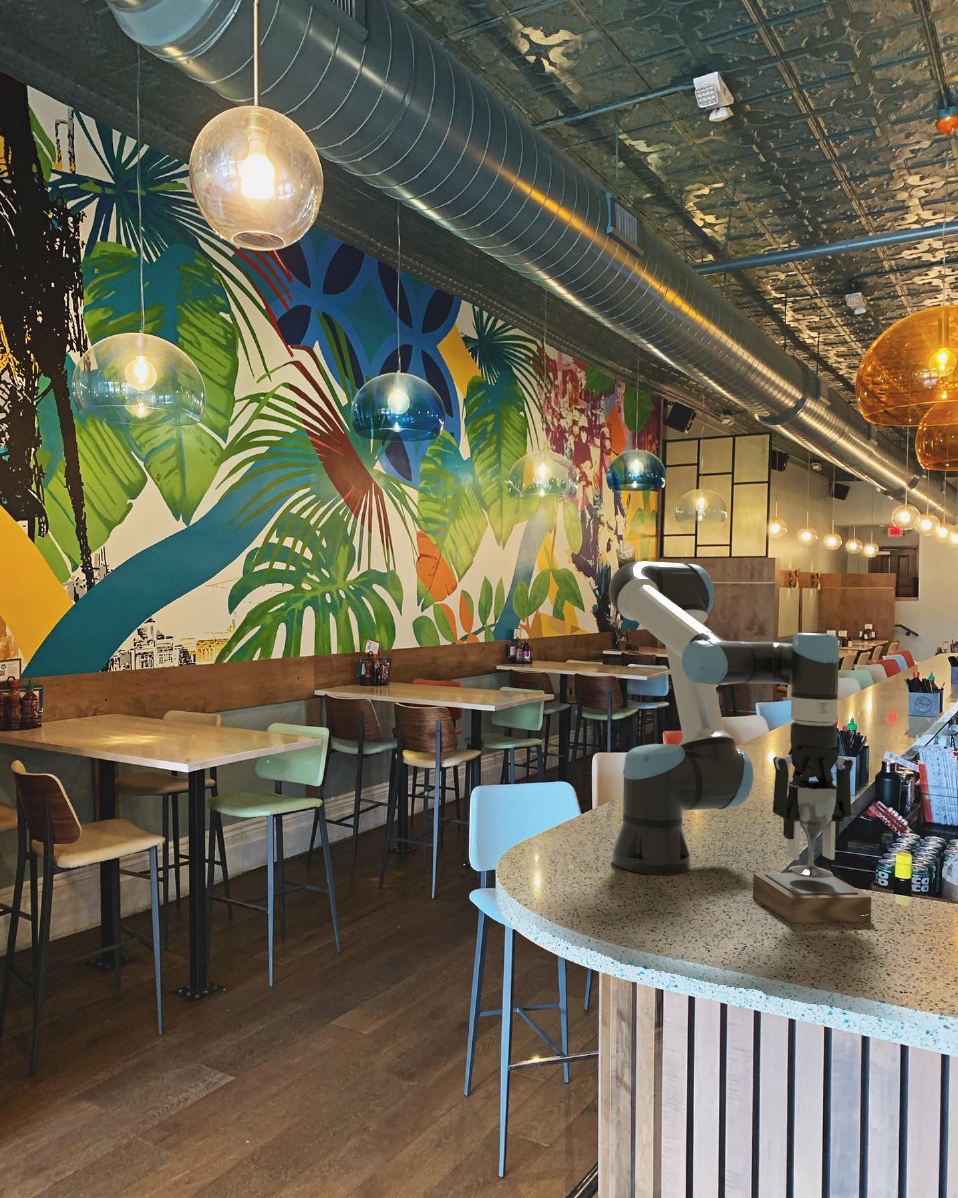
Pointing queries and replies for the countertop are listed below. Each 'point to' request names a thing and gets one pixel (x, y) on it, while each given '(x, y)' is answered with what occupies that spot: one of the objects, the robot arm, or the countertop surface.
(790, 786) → the wine glass
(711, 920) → the countertop surface
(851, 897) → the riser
